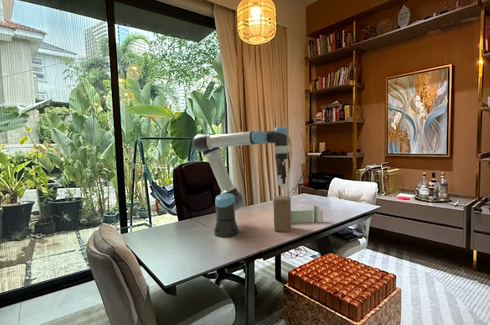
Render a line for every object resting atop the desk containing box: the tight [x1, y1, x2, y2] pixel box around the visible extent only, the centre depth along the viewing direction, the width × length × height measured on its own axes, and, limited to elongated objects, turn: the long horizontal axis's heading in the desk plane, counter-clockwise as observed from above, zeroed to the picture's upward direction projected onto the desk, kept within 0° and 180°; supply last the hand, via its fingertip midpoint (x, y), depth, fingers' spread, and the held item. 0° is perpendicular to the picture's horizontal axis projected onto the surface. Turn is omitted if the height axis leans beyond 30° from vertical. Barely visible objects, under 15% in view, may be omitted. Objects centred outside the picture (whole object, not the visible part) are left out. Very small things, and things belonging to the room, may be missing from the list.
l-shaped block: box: [313, 205, 324, 223], centre depth 176 cm, size 31×2×11 cm, turn 89°
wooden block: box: [272, 195, 292, 233], centre depth 164 cm, size 10×10×20 cm
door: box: [291, 209, 314, 224], centre depth 175 cm, size 19×3×8 cm, turn 89°
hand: (281, 187), depth 163 cm, fingers open, 13 cm apart
